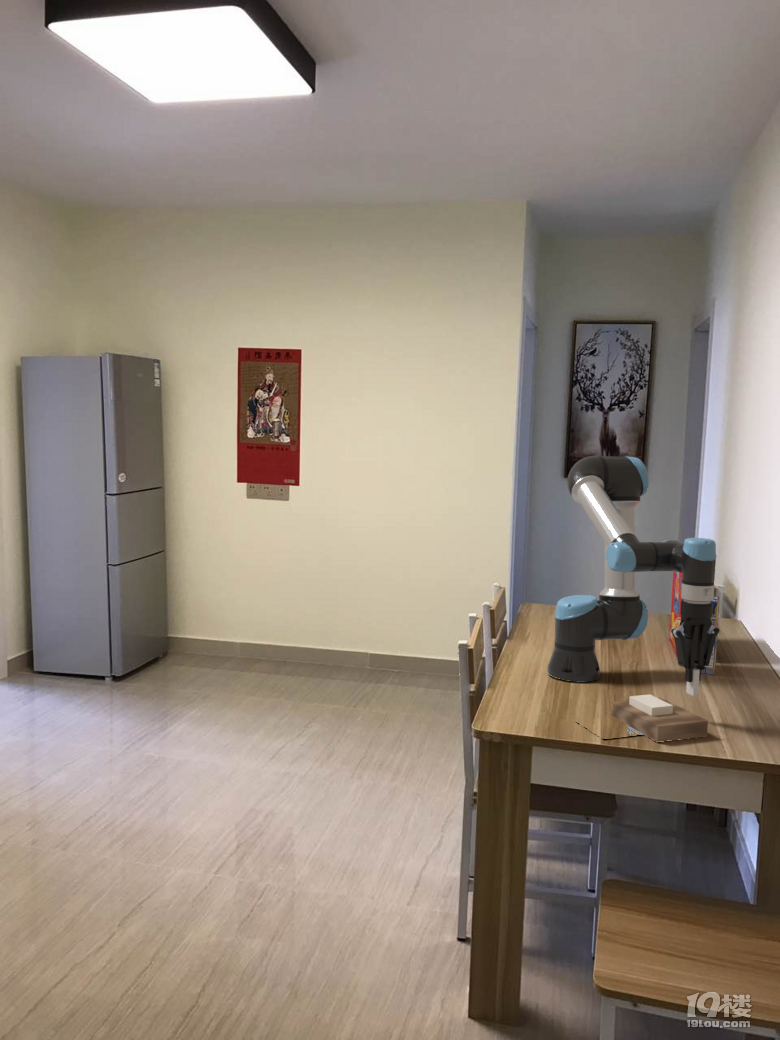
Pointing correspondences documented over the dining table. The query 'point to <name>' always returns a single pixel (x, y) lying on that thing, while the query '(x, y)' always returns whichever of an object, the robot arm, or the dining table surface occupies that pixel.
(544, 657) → the dining table surface
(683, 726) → the brown wooden slab
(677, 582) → the red blue cereal box
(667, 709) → the white rectangular block
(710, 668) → the beverage box
